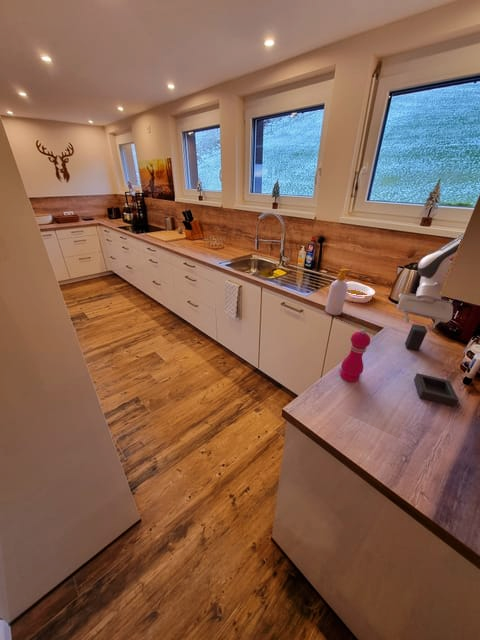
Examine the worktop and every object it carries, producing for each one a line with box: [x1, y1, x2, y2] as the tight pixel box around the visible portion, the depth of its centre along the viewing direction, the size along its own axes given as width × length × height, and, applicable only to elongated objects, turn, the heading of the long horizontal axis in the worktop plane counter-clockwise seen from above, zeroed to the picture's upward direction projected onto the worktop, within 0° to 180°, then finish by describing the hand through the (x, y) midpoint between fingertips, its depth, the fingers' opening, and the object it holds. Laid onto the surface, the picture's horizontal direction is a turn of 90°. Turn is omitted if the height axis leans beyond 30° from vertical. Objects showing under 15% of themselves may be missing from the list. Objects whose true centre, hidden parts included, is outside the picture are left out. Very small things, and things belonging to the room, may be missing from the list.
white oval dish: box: [345, 280, 376, 303], centre depth 162 cm, size 29×22×5 cm
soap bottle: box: [324, 268, 354, 316], centre depth 137 cm, size 9×9×24 cm
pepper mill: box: [340, 328, 371, 383], centre depth 91 cm, size 7×7×20 cm
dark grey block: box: [404, 323, 428, 352], centre depth 112 cm, size 5×5×10 cm
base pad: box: [413, 372, 459, 408], centre depth 89 cm, size 10×10×3 cm
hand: (419, 325), depth 113 cm, fingers open, 8 cm apart
